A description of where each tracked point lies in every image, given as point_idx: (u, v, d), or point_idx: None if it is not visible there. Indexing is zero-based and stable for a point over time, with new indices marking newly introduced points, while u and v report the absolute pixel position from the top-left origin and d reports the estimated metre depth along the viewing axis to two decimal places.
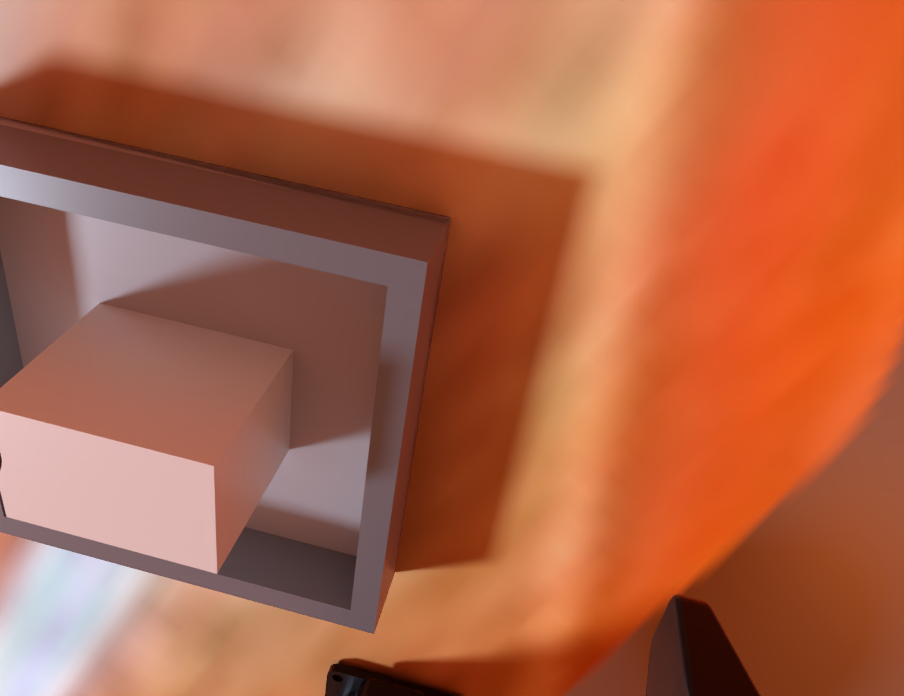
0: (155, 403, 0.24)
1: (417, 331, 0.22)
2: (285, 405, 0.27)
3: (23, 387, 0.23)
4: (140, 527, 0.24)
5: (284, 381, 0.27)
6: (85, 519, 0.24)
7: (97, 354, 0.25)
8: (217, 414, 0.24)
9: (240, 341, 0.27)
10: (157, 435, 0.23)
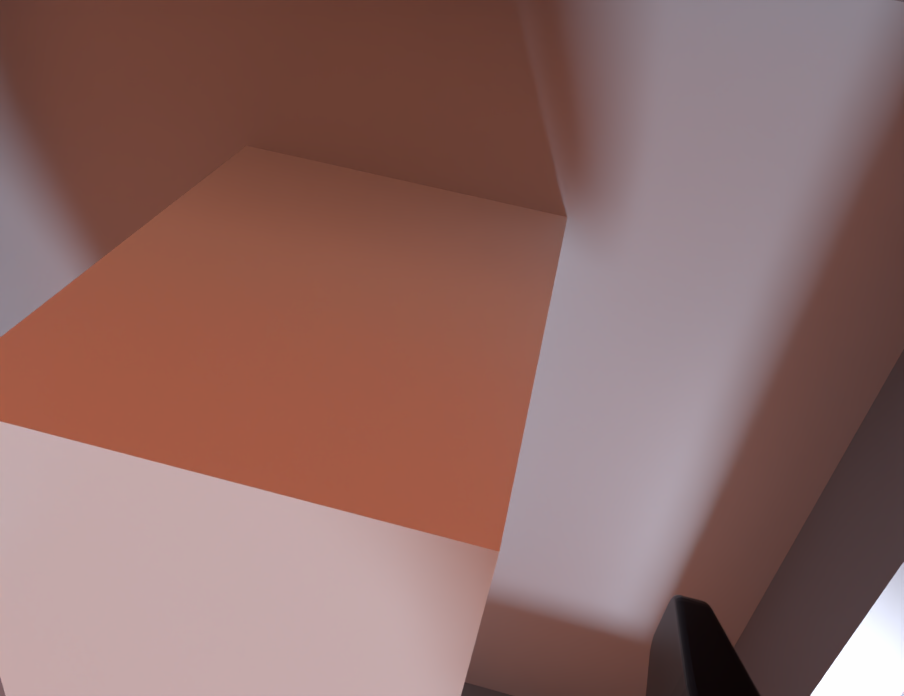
0: None
1: None
2: (372, 191, 0.10)
3: None
4: None
5: (282, 177, 0.10)
6: None
7: None
8: None
9: None
10: None
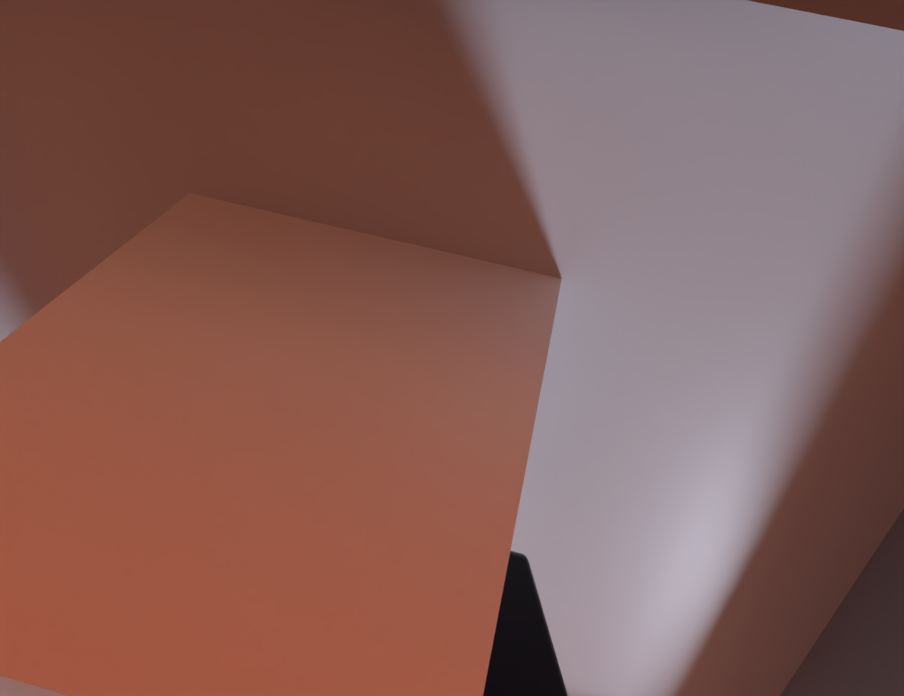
0: None
1: None
2: (332, 250, 0.09)
3: None
4: None
5: (226, 234, 0.09)
6: None
7: None
8: None
9: None
10: None
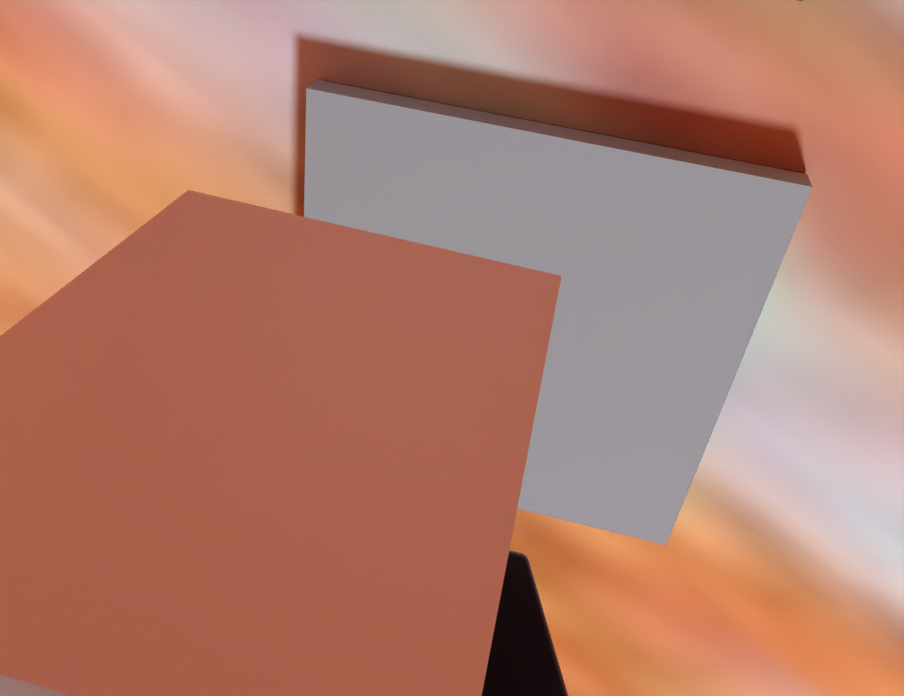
0: None
1: None
2: (331, 248, 0.09)
3: None
4: None
5: (225, 232, 0.09)
6: None
7: None
8: None
9: None
10: None
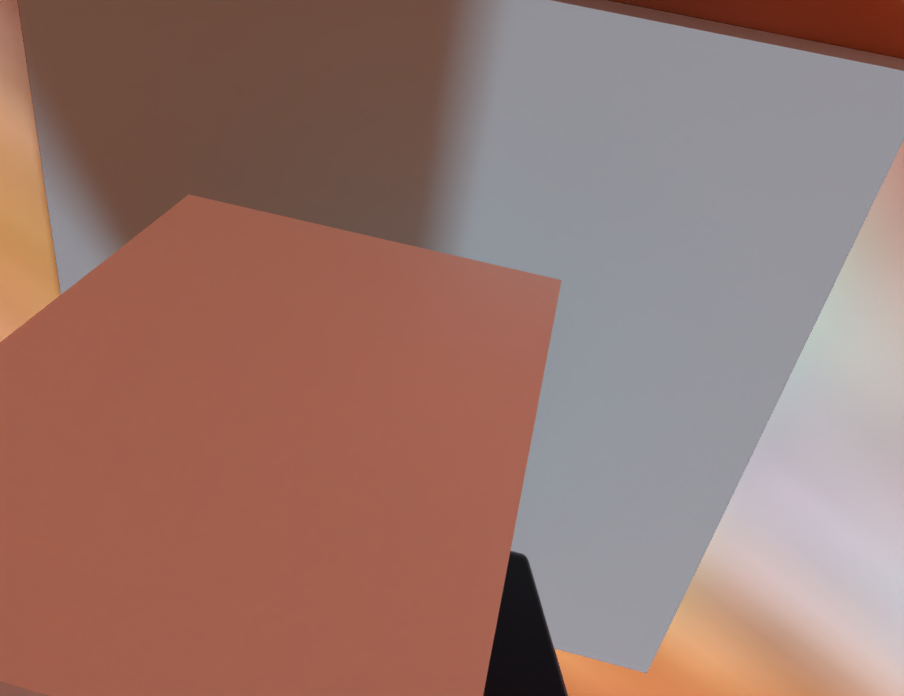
0: None
1: None
2: (331, 252, 0.09)
3: None
4: None
5: (225, 235, 0.09)
6: None
7: None
8: None
9: None
10: None
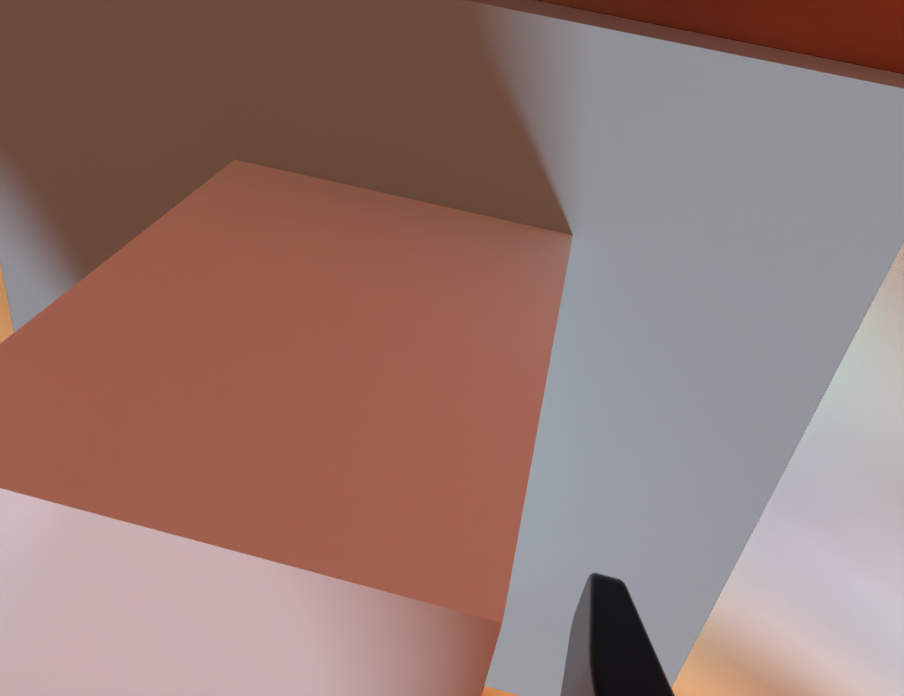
0: None
1: None
2: (366, 209, 0.10)
3: None
4: None
5: (271, 194, 0.10)
6: None
7: None
8: None
9: None
10: None
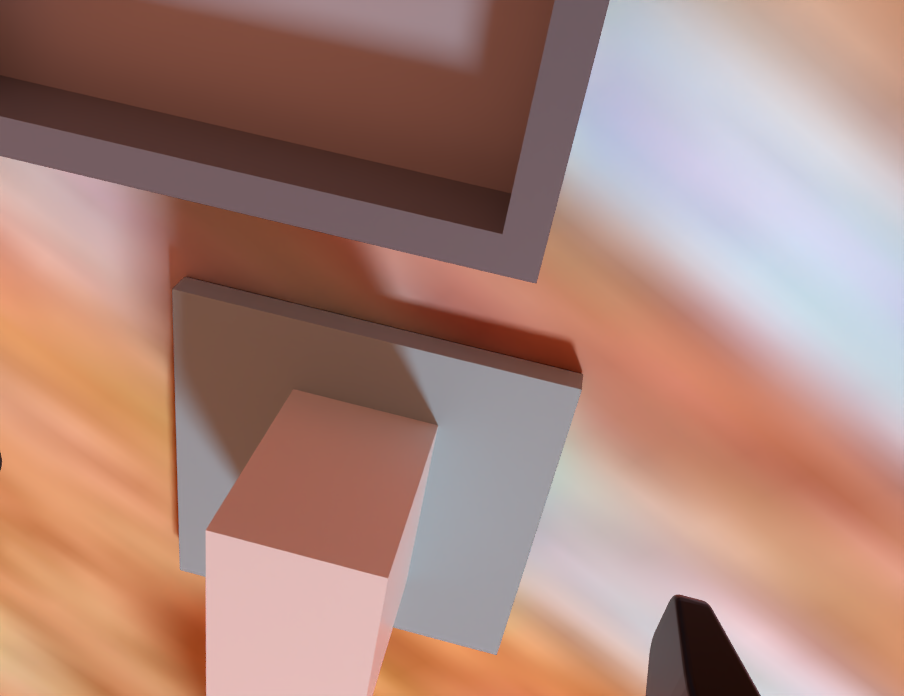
0: None
1: None
2: (350, 416, 0.23)
3: None
4: (331, 630, 0.20)
5: (310, 410, 0.23)
6: (336, 676, 0.21)
7: None
8: None
9: None
10: None
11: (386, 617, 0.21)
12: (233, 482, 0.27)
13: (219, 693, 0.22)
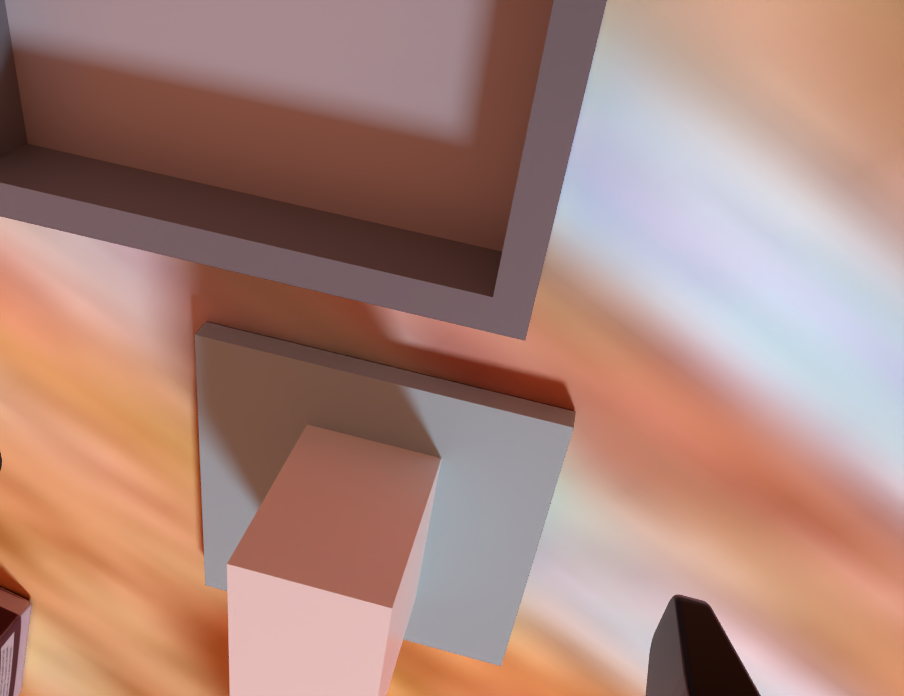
0: None
1: None
2: (359, 450, 0.25)
3: None
4: (342, 652, 0.22)
5: (323, 445, 0.25)
6: (347, 692, 0.23)
7: None
8: None
9: None
10: None
11: (393, 638, 0.23)
12: (253, 507, 0.28)
13: None
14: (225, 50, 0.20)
